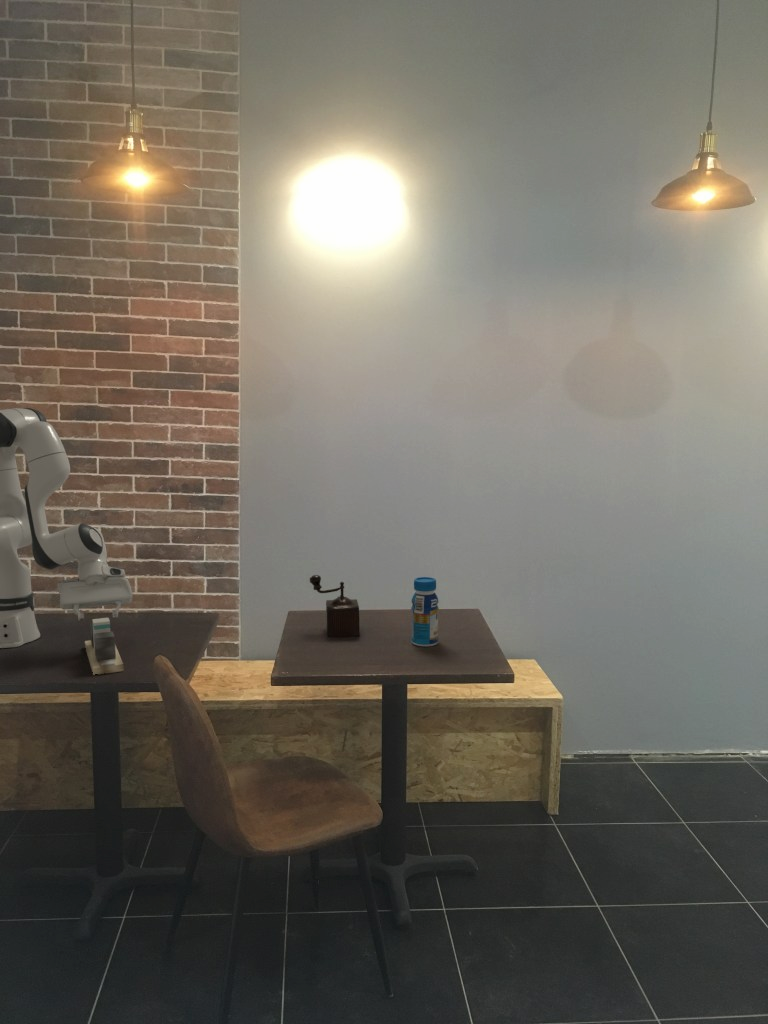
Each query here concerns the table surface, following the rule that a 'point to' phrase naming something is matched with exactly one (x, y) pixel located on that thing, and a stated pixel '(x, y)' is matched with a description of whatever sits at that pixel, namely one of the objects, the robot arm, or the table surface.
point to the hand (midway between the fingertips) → (98, 618)
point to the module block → (100, 626)
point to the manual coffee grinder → (339, 612)
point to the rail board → (96, 663)
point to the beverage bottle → (424, 612)
